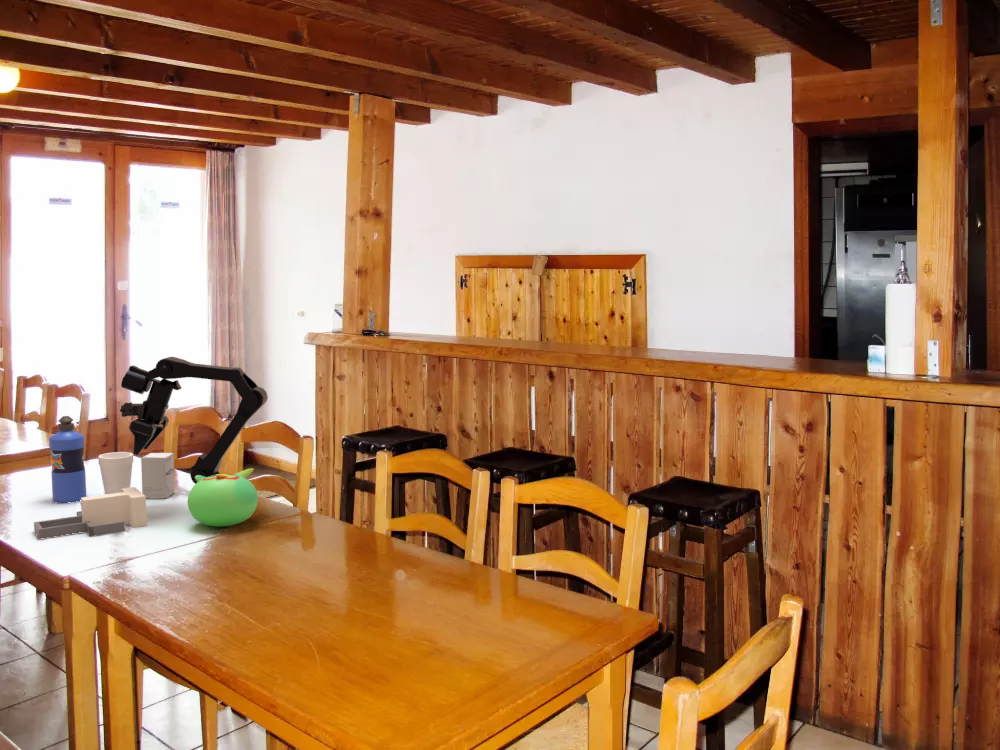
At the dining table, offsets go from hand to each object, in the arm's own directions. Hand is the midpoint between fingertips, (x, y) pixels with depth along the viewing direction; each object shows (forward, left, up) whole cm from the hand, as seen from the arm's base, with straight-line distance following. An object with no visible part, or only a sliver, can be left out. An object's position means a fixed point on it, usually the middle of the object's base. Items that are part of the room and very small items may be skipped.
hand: (140, 451), depth 248 cm
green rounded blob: (-30, +5, -17) cm, 35 cm away
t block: (-1, +14, -17) cm, 22 cm away
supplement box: (+6, -15, -17) cm, 24 cm away
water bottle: (+28, -3, -17) cm, 33 cm away
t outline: (+4, +20, -17) cm, 27 cm away
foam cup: (+16, -9, -17) cm, 26 cm away
